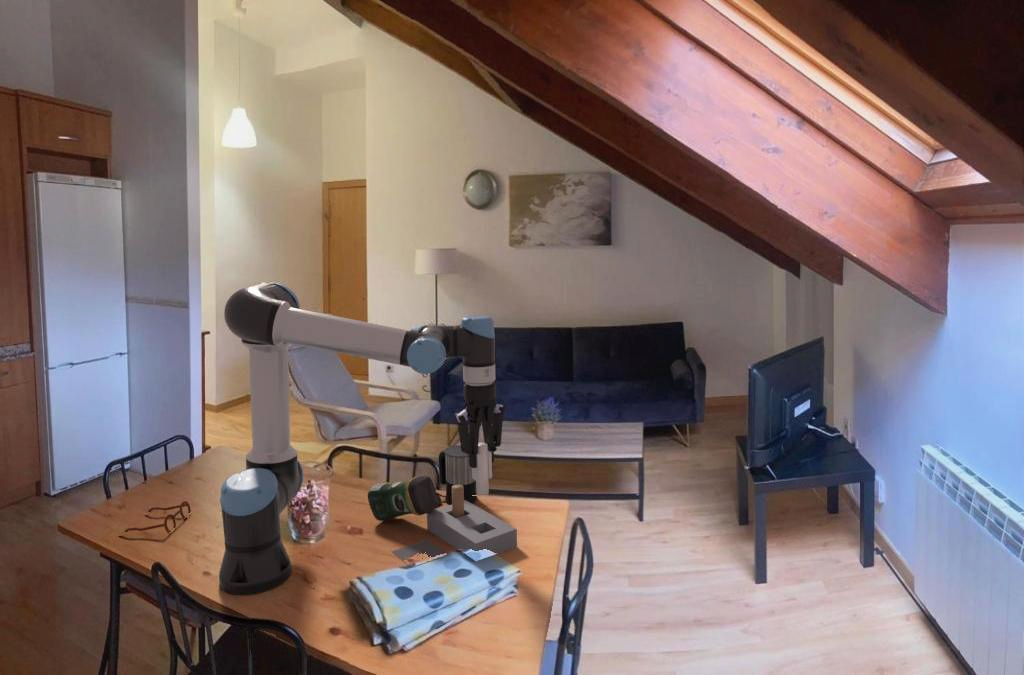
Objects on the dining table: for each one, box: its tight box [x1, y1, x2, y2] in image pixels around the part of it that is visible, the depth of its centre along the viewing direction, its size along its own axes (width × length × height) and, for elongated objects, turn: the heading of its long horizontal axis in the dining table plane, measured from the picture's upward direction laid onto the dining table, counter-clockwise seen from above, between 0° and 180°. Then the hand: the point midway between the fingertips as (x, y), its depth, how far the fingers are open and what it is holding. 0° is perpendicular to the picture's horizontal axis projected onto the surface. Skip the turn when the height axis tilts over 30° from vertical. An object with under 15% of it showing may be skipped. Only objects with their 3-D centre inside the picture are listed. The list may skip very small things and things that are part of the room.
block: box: [426, 485, 518, 555], centre depth 169 cm, size 12×22×12 cm, turn 38°
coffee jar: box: [367, 475, 439, 522], centre depth 177 cm, size 10×8×19 cm
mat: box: [391, 539, 447, 562], centre depth 162 cm, size 10×10×1 cm
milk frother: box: [436, 444, 478, 508], centre depth 191 cm, size 14×16×15 cm
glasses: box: [123, 500, 192, 534], centre depth 179 cm, size 13×13×5 cm
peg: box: [476, 442, 490, 496], centre depth 162 cm, size 3×3×12 cm
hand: (482, 477), depth 162 cm, fingers closed on peg, 2 cm apart
